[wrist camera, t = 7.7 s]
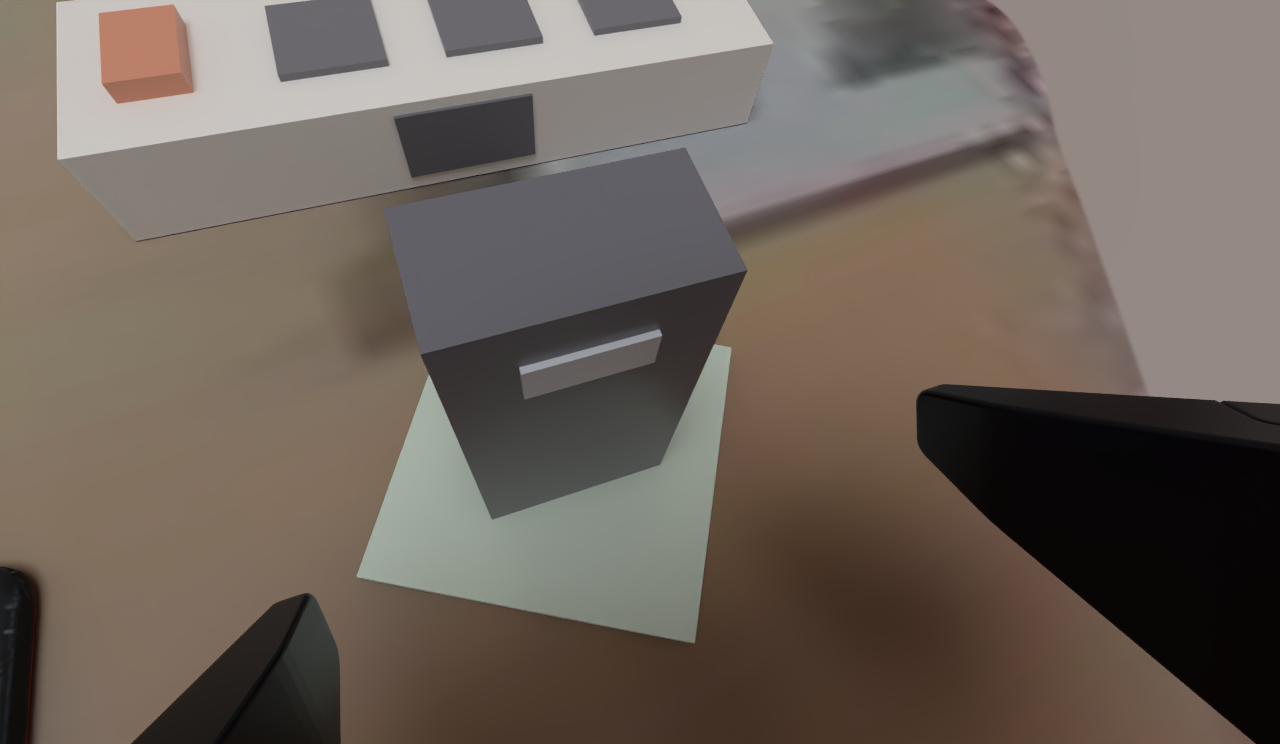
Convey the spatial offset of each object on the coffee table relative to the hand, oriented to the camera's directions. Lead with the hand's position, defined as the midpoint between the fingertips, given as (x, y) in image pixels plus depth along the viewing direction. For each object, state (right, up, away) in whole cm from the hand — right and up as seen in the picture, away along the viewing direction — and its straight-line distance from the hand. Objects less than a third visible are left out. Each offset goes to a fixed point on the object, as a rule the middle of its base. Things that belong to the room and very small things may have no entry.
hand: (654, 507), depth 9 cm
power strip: (-7, +12, +15) cm, 21 cm away
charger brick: (-2, 0, +10) cm, 10 cm away
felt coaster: (-2, 0, +10) cm, 10 cm away
